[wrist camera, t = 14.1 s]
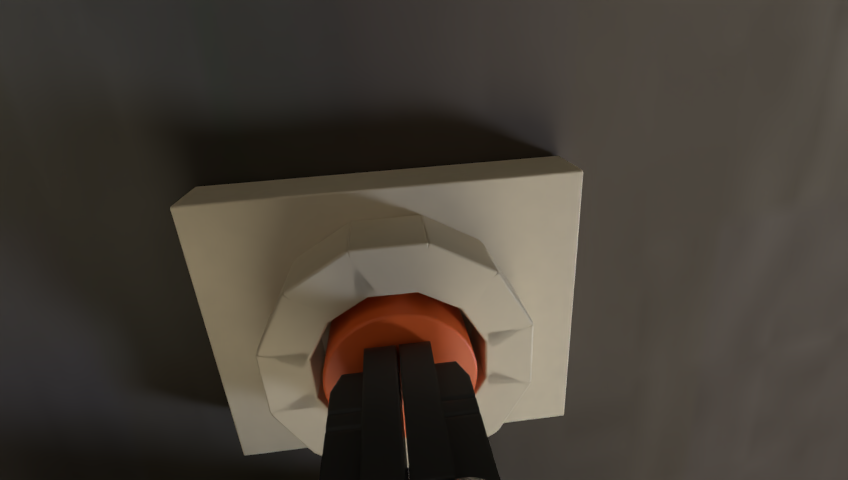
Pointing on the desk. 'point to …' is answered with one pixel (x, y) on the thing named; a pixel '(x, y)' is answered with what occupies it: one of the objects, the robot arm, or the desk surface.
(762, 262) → the desk surface
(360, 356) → the button
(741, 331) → the desk surface
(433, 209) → the control pad
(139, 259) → the desk surface
